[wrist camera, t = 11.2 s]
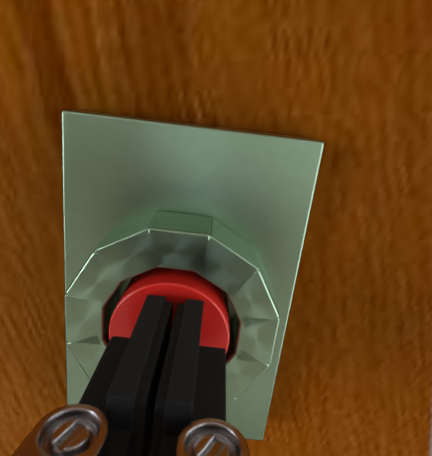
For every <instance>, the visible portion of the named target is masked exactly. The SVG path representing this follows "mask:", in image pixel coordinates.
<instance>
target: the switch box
mask: <svg viewBox="0 0 432 456" xmlns="http://www.w3.org/2000/svg"><path fill="white" fill-rule="evenodd" d="M323 147H324V142H323V141H320V140H317V139H315V138H308V137H299V136H291V135H283V134H275V133H266V132H258V131H250V130H242V129H234V128H225V127H217V126H209V125H201V124H192V123H184V122H176V121H168V120H160V119H151V118H143V117H135V116H127V115H118V114H110V113H102V112H94V111H86V110H62V161H63V217H64V272H65V341H66V382H67V405H70V404H78V403H79V401H80V399H81V397H82V395H83V393H84V391H85V389H86V387H87V385H88V383H89V381H90V379H91V377H92V375H93V373H94V371H95V369H96V367H97V365H98V363H99V361H100V359H101V357H102V355H103V353H104V351H105V349H106V347H107V345H108V343H109V341H110V339H109V323H110V320H111V316H112V314H113V312H114V310H115V308H116V306H117V304H118V302H119V300H120V298H121V296H122V295H123V293H124V291H125V289H126V287H127V285H128V284H129V282H130V280H131V279H132V278H133V277H134V276H137V275H139V274H142V273H144V272H147V271H149V270H152V269H154V268H157V267H159V268H168V269H177V270H186V271H194V272H196V273H198V274H199V275H201V276H202V277H204V278H205V279H207V280H208V281H209V282H211V283H212V284H214V285H215V286H217V287H218V288H220V289H221V290H223V291H224V292H226V295H227V298H228V304H229V332H230V338H229V346H228V350H227V353H226V422H229V423H230V424H231V425H233V426H234V427H236V428H237V429H238V430H239V431H240V433H241V434H242V435H243V436H244V438H245V439H252V440H263V438H264V433H265V428H266V423H267V418H268V413H269V408H270V404H271V399H272V394H273V389H274V384H275V379H276V375H277V370H278V365H279V360H280V355H281V350H282V346H283V341H284V336H285V331H286V326H287V321H288V317H289V312H290V307H291V302H292V297H293V292H294V288H295V283H296V278H297V273H298V268H299V263H300V258H301V254H302V249H303V244H304V239H305V234H306V229H307V225H308V220H309V215H310V210H311V205H312V200H313V196H314V191H315V186H316V181H317V176H318V171H319V167H320V162H321V157H322V152H323Z"/></svg>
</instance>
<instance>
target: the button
mask: <svg viewBox="0 0 432 456" xmlns="http://www.w3.org/2000/svg"><path fill="white" fill-rule="evenodd" d="M147 295H157V296H166V301H167V302H173V308H172V319H171V331H172V327H173V323H174V319H175V314H176V310H177V306H178V303H184V304H185V301H186V299H192V300H201V301H204V306H203V315H202V325H201V334H200V344H199V346H208V347H217V348H225V350H226V353H227V350H228V346H229V338H230V332H229V304H228V298H227V295H226V292H224V291H223V290H221V289H220V288H218V287H217V286H215V285H214V284H212V283H211V282H209V281H208V280H207V279H205V278H204V277H202V276H201V275H199V274H198V273H196V272H194V271H186V270H177V269H168V268H159V267H157V268H154V269H152V270H149V271H147V272H144V273H142V274H139V275H137V276H134V277H133V278H132V279H131V280H130V282H129V284H128V285H127V287H126V289H125V291H124V293H123V295H122V296H121V298H120V300H119V302H118V304H117V306H116V308H115V310H114V312H113V314H112V316H111V320H110V323H109V339H111V337H113V336H119V337H128V338H130V336H131V334H132V331H133V329H134V326H135V324H136V321H137V319H138V317H139V314H140V312H141V309H142V307H143V304H144V302H145V300H146V297H147ZM171 331H170V335H171Z"/></svg>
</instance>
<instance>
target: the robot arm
mask: <svg viewBox="0 0 432 456" xmlns="http://www.w3.org/2000/svg"><path fill="white" fill-rule="evenodd" d="M203 306H204V301H201V300H192V299H186V301H185V304H184V303H178V306H177V310H176V314H175V319H174V323H173V327H172V331H171V319H172V308H173V302H167V301H166V296H157V295H147V297H146V300H145V302H144V304H143V307H142V309H141V312H140V314H139V317H138V319H137V321H136V324H135V326H134V329H133V331H132V334H131V336H130V338H128V337H119V336H113V337H111V339H110V341H109V343H108V345H107V347H106V349H105V351H104V353H103V355H102V357H101V359H100V361H99V363H98V365H97V367H96V369H95V371H94V373H93V375H92V377H91V379H90V381H89V383H88V385H87V387H86V389H85V391H84V393H83V395H82V397H81V399H80V401H79V403H78V404H70V405H65V406H63V407H60V408H57V409H55V410H53V411H52V412H50V413H48V414H47V415H45V416H44V417H43V418H42V419H41V420H40V421H39V422H38V423H37V424H36V426H35V427H34V428H33V429H32V431H31V432H30V433H29V434H28V436H27V437H26V438H25V440H24V441H23V442H22V443H21V445H20V446H19V447H18V448H17V450H16V451H15V452H14V453H13V455H12V456H150V455H151V456H250V454H249V450H248V446H247V443H246V441H245V438H244V436H243V435H242V434H241V433H240V431H239V430H238V429H237V428H236V427H234V426H233V425H231V424H230V423H229V422H226V350H225V348H217V347H208V346H199V344H200V334H201V325H202V315H203ZM170 331H171V335H170Z"/></svg>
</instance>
